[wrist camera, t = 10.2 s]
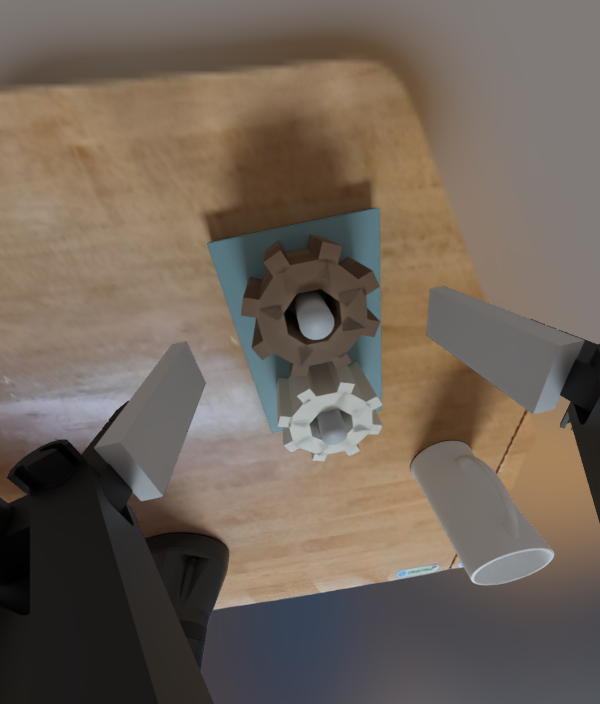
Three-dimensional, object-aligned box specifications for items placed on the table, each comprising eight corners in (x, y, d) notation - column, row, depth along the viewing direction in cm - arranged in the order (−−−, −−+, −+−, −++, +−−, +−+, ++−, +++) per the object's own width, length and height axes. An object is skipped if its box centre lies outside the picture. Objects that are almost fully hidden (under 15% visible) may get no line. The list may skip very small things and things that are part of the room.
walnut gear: (265, 350, 21) (263, 385, 17) (235, 249, 17) (223, 262, 13) (358, 331, 21) (381, 361, 17) (352, 225, 17) (379, 229, 13)
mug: (422, 425, 30) (500, 535, 20) (487, 418, 31) (595, 523, 21) (404, 482, 36) (458, 591, 26) (459, 476, 37) (533, 580, 26)
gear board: (271, 422, 28) (271, 487, 21) (211, 241, 18) (177, 257, 12) (376, 401, 28) (408, 459, 21) (371, 208, 18) (427, 205, 12)
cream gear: (287, 425, 26) (290, 468, 22) (269, 360, 22) (268, 397, 18) (364, 409, 26) (383, 449, 22) (360, 341, 22) (382, 373, 17)
